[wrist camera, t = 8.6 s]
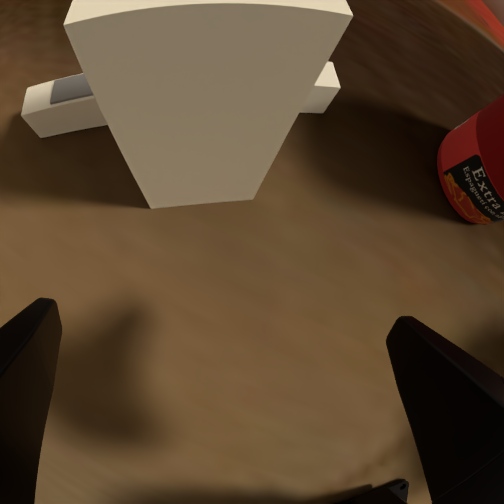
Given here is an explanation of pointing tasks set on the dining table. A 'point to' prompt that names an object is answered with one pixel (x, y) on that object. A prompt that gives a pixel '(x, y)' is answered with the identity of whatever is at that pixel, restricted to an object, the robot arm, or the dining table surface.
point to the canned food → (475, 165)
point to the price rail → (89, 114)
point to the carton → (202, 85)
